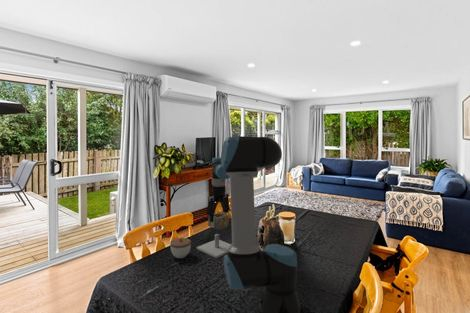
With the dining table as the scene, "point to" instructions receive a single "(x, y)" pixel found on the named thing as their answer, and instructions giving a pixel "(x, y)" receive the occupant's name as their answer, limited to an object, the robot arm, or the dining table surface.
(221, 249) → the post block
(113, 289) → the dining table surface
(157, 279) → the dining table surface
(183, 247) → the lidded jar
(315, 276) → the dining table surface
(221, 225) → the collar
